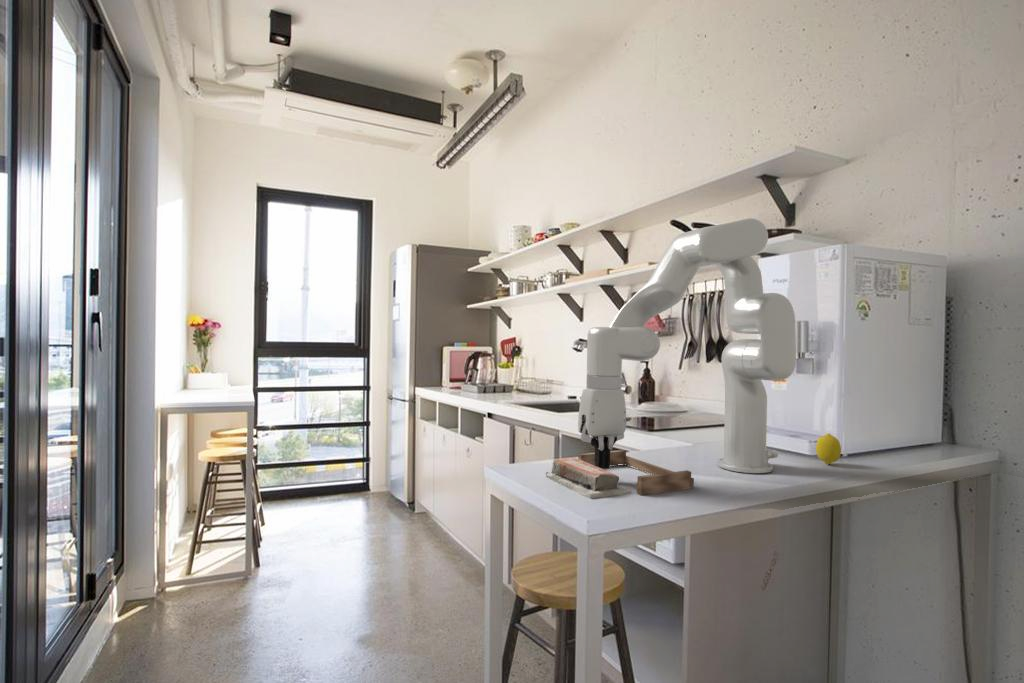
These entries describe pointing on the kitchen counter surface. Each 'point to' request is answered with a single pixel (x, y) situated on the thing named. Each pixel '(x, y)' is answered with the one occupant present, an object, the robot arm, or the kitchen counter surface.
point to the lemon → (828, 449)
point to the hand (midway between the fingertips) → (602, 467)
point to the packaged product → (585, 478)
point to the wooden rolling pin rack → (649, 483)
